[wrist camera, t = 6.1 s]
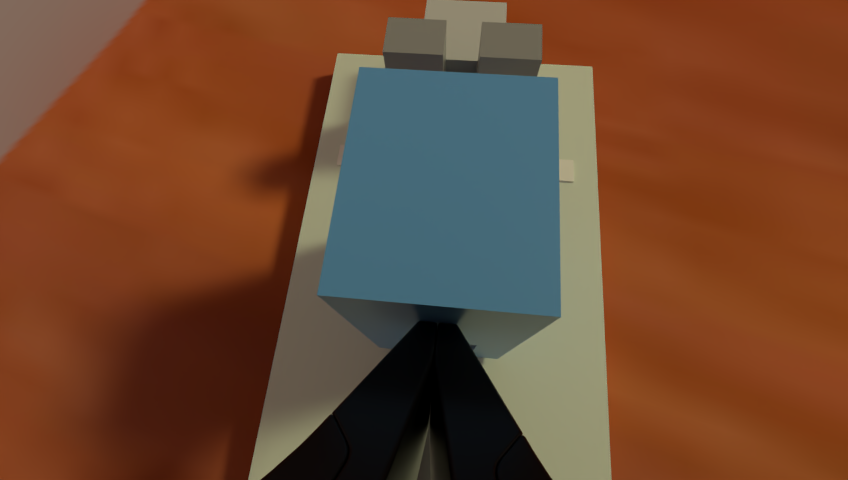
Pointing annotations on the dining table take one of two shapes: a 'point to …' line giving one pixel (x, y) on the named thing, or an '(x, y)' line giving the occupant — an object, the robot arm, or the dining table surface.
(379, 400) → the robot arm
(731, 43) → the dining table surface
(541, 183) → the blue block
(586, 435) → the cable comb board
